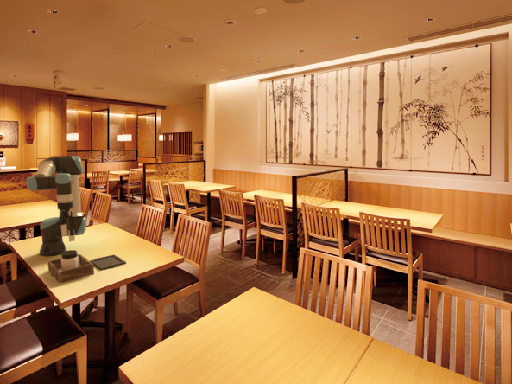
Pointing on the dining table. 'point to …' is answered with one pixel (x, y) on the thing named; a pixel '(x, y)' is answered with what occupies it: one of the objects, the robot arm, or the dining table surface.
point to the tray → (107, 262)
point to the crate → (72, 273)
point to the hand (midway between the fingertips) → (68, 238)
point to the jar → (69, 260)
